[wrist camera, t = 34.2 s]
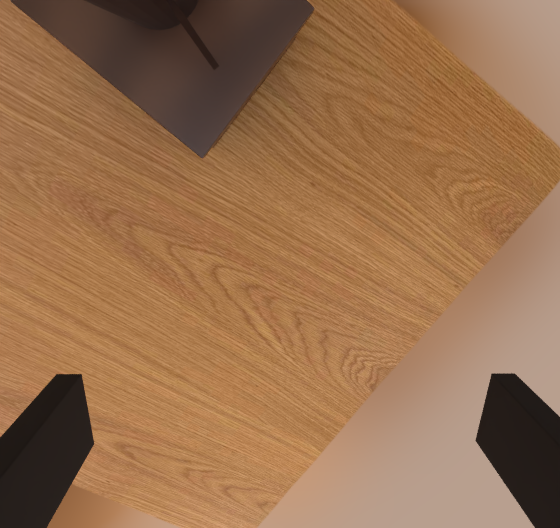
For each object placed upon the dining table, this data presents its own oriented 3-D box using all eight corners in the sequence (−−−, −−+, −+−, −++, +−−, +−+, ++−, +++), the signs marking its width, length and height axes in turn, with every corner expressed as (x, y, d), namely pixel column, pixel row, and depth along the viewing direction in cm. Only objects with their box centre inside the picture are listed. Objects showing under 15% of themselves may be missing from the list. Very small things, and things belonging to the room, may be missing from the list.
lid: (313, 12, 26) (314, 8, 25) (204, 158, 29) (202, 158, 28) (120, -185, 23) (115, -198, 22) (18, 5, 26) (9, 0, 25)
